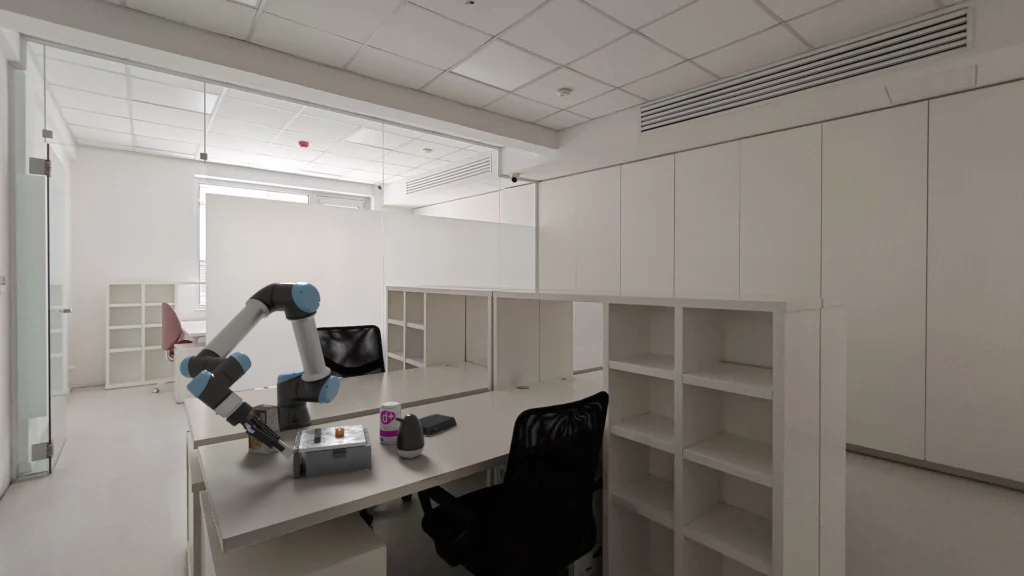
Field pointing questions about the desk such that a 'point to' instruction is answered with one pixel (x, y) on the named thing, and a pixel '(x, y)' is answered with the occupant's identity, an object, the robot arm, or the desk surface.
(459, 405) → the desk surface
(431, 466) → the desk surface
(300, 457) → the lid
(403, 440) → the pump dispenser
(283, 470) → the desk surface
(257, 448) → the coffee box
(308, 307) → the robot arm
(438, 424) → the external hard drive
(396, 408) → the supplement can
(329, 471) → the grey storage box
